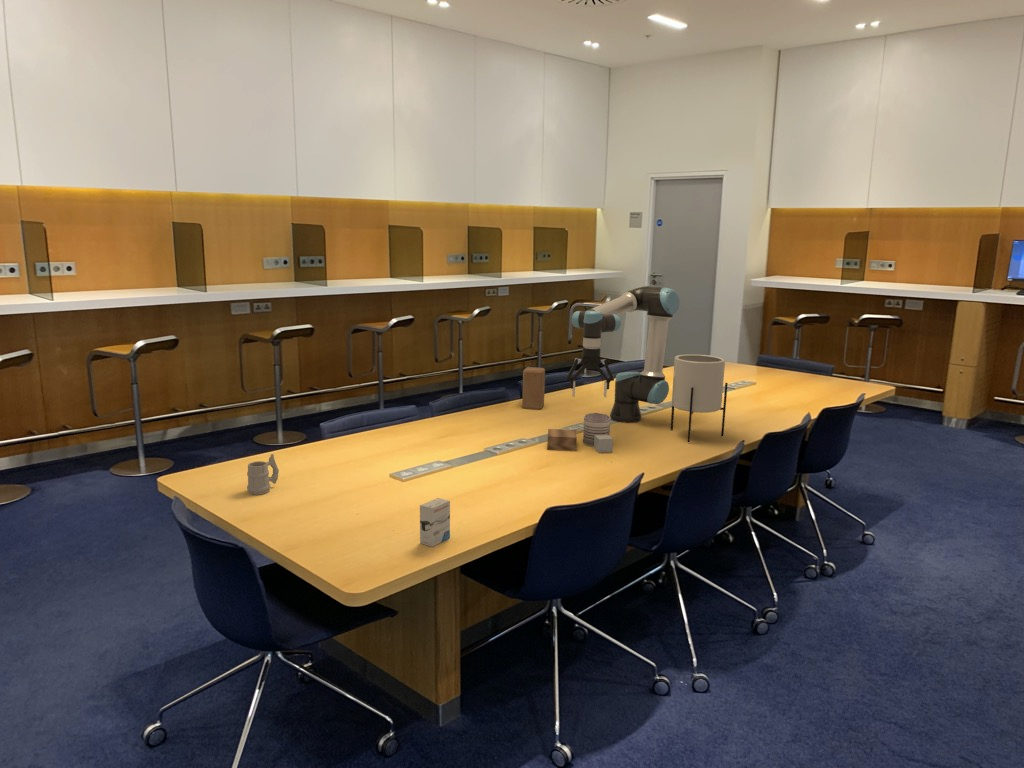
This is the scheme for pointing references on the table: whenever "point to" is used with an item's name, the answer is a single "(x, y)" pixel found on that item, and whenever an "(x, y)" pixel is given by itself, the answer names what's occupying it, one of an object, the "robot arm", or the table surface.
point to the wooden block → (533, 388)
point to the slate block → (603, 443)
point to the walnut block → (562, 439)
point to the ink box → (434, 522)
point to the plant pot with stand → (698, 385)
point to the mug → (261, 476)
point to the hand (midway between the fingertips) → (589, 396)
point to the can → (595, 427)
